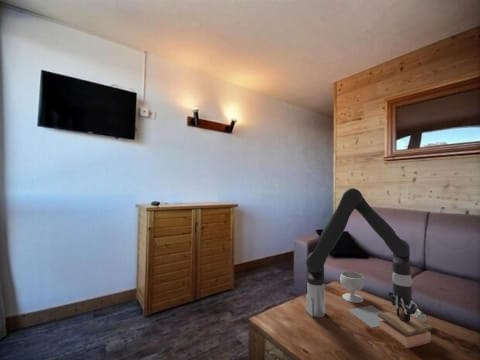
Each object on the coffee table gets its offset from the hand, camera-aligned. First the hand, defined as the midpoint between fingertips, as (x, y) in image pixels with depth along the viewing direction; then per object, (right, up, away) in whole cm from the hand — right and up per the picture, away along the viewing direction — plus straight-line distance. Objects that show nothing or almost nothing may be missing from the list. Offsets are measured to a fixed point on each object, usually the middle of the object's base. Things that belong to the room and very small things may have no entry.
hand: (403, 318), depth 107 cm
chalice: (-7, -9, +35) cm, 37 cm away
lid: (0, -2, 0) cm, 2 cm away
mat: (-6, -8, +16) cm, 19 cm away
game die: (+13, -8, +8) cm, 17 cm away
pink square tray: (0, -8, 0) cm, 8 cm away
